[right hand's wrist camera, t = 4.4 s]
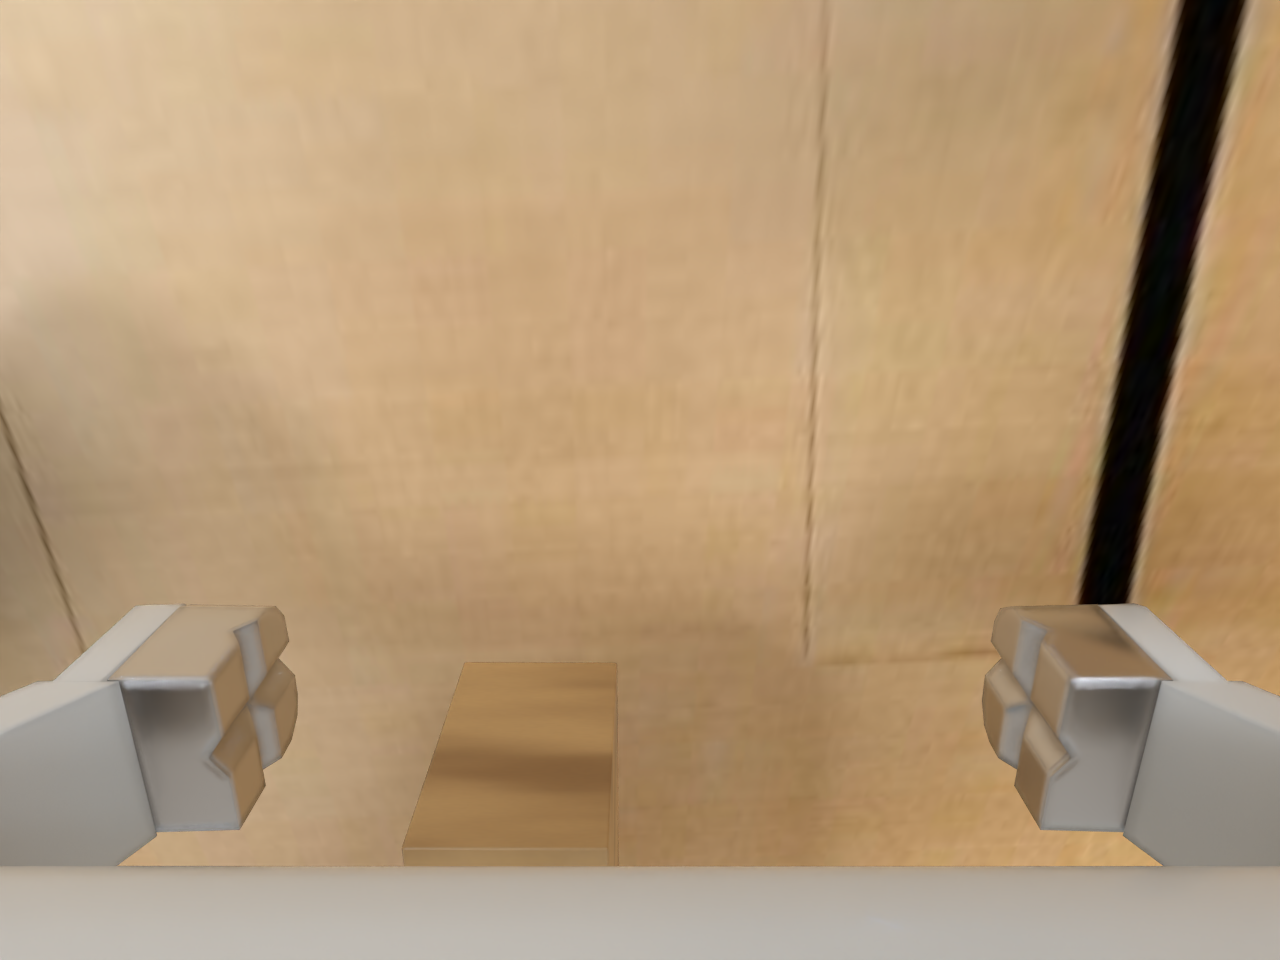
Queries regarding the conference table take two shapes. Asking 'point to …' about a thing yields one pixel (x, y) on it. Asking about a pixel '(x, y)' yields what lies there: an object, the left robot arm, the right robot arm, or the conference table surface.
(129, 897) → the right robot arm
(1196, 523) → the conference table surface
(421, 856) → the bar
